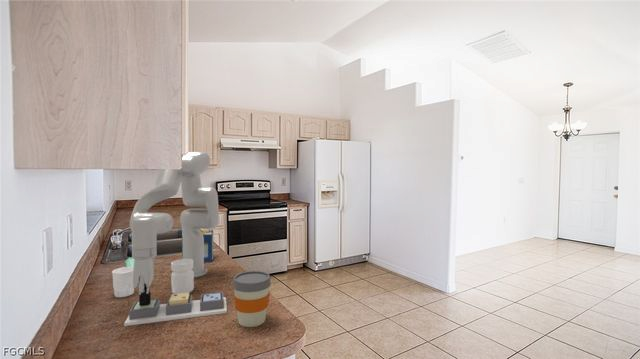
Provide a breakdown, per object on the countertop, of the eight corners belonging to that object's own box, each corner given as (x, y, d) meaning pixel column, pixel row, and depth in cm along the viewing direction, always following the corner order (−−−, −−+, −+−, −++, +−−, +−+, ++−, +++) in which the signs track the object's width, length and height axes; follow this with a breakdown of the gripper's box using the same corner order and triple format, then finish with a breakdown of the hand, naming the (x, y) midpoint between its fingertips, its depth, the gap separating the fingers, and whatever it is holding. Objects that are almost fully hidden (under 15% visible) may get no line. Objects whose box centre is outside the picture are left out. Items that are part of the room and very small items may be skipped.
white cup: (117, 291, 131) (117, 267, 131) (138, 289, 133) (138, 266, 133) (109, 298, 124) (108, 273, 123) (131, 297, 125) (130, 272, 125)
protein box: (185, 258, 179) (184, 231, 178) (213, 256, 182) (213, 230, 182) (181, 263, 168) (181, 235, 168) (212, 262, 172) (211, 233, 172)
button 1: (137, 308, 112) (137, 301, 112) (156, 306, 114) (156, 299, 114) (133, 316, 106) (133, 309, 106) (153, 314, 108) (153, 306, 108)
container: (139, 268, 142) (134, 254, 162) (125, 276, 139) (122, 260, 159) (145, 279, 143) (140, 264, 164) (131, 287, 140) (127, 270, 161)
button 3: (203, 301, 119) (203, 294, 119) (220, 299, 121) (220, 292, 121) (203, 308, 113) (203, 301, 113) (220, 306, 115) (220, 299, 115)
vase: (195, 285, 139) (195, 258, 138) (192, 293, 130) (192, 264, 130) (173, 286, 137) (173, 259, 136) (169, 295, 128) (168, 265, 128)
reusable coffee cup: (238, 333, 99) (238, 286, 99) (229, 316, 110) (228, 274, 110) (275, 324, 105) (276, 279, 105) (263, 309, 116) (263, 268, 116)
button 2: (171, 300, 115) (171, 294, 115) (189, 298, 117) (189, 292, 117) (169, 307, 110) (169, 300, 110) (188, 305, 112) (188, 298, 112)
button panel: (133, 310, 114) (133, 299, 114) (225, 299, 124) (225, 289, 124) (124, 326, 103) (124, 314, 103) (226, 312, 113) (226, 301, 113)
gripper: (137, 247, 115) (137, 297, 116) (126, 259, 101) (127, 315, 102) (160, 246, 118) (160, 294, 118) (152, 257, 103) (153, 312, 104)
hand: (145, 304), depth 110 cm, fingers closed
